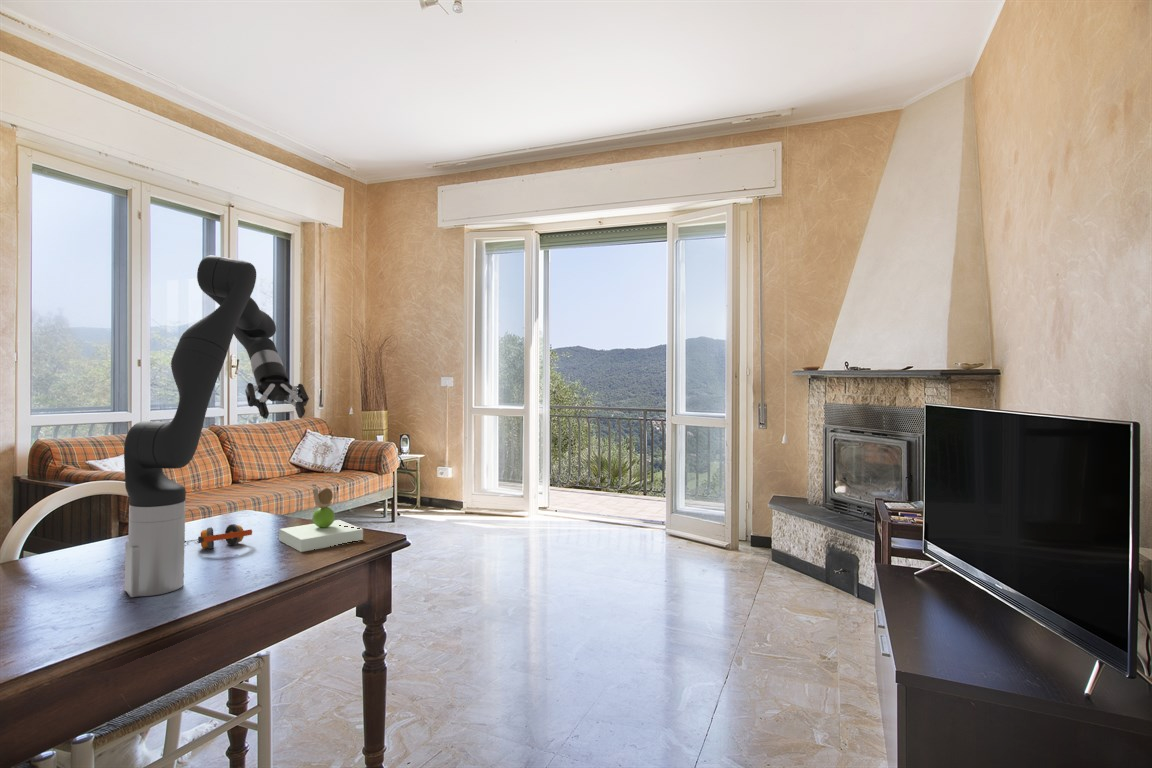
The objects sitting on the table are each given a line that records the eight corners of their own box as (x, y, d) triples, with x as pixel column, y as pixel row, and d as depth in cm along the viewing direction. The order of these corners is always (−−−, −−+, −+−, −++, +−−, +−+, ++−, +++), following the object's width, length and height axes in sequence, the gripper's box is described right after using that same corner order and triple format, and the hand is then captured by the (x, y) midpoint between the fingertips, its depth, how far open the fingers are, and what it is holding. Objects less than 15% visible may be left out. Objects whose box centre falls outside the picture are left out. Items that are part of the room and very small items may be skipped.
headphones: (242, 522, 164) (268, 518, 151) (243, 542, 163) (269, 539, 150) (171, 533, 152) (193, 529, 139) (172, 554, 151) (194, 552, 138)
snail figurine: (304, 529, 157) (305, 483, 157) (323, 524, 163) (324, 479, 163) (320, 531, 155) (321, 485, 155) (339, 526, 160) (340, 481, 160)
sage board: (300, 552, 147) (301, 539, 147) (279, 540, 156) (279, 528, 156) (362, 540, 158) (363, 529, 158) (339, 530, 168) (339, 519, 168)
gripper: (243, 359, 153) (258, 406, 146) (300, 361, 164) (317, 405, 156) (236, 380, 157) (250, 427, 149) (292, 380, 167) (308, 424, 160)
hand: (284, 416), depth 153 cm, fingers open, 8 cm apart
